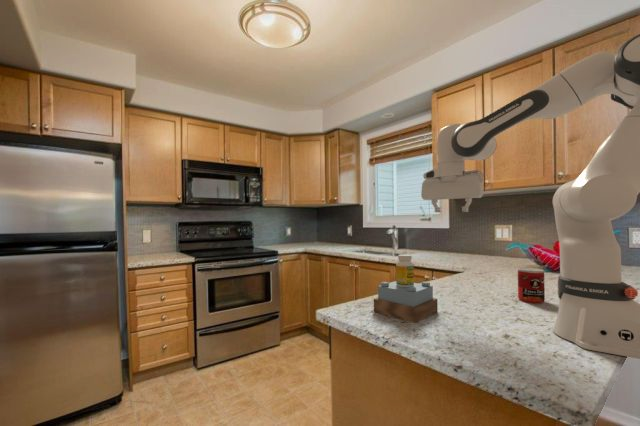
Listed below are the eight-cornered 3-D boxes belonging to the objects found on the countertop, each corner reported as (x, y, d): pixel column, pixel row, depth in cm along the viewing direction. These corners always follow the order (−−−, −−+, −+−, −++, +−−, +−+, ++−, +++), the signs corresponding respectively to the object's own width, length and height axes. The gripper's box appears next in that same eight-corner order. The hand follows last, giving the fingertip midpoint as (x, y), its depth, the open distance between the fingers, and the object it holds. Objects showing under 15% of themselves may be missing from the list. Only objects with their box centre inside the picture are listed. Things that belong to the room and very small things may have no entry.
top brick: (432, 298, 93) (432, 282, 93) (413, 306, 85) (413, 289, 85) (398, 292, 102) (398, 277, 102) (378, 298, 93) (378, 282, 93)
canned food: (522, 302, 102) (522, 270, 102) (514, 296, 110) (514, 266, 110) (549, 304, 100) (548, 271, 100) (539, 298, 108) (538, 267, 108)
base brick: (437, 311, 93) (437, 298, 93) (415, 322, 83) (415, 308, 83) (397, 302, 103) (397, 291, 103) (373, 311, 93) (373, 298, 93)
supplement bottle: (402, 283, 97) (401, 253, 97) (417, 285, 93) (417, 254, 93) (392, 285, 93) (392, 255, 93) (408, 288, 89) (408, 256, 90)
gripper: (486, 170, 99) (486, 211, 99) (427, 176, 114) (427, 212, 113) (479, 167, 95) (480, 211, 94) (419, 174, 109) (419, 212, 109)
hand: (451, 212), depth 104 cm, fingers open, 8 cm apart
